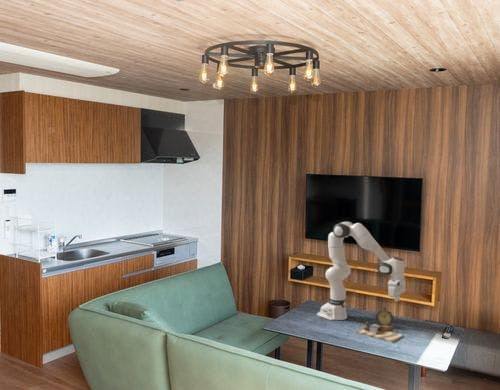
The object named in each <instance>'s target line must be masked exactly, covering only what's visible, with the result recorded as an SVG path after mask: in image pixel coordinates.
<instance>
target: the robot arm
mask: <svg viewBox="0 0 500 390" xmlns="http://www.w3.org/2000/svg"><path fill="white" fill-rule="evenodd" d="M348 237H353V239H354V240H355V241H356V243H357V245H359V247H360V248H361V249H364V250H367V251H371V252H372V253H374V254H375V255H376V256H377V258H378V259H379V260H380V262H379V263H378V264H377V266H376V271H377V273H379V274H380V275H382V276H387V275H388V276H389V275H390V279H389V280H388V282H387V287H388V288H387V289H388V291H387V292H388V293H387V294H388V297H391V298H394V301H395V302H400V297H401V295H402V294H405V292H406V289H407V288H406V281H405V261H404V259H403V258H401V257H399V256H392V257H390V255H389V254H388V253H387V252H386V251H385V250H384V248H383V247H382V246H381V245H380V244H379V243H378V242H377V241H376V240H375V238H374V237H373V236H372V234H371V232H370V231H369V230H368V229H367V228H366V227H365V226H364V225H363V224H362V223H360V222H356V223H353V222H352V221H342V222H341V221H340V222H338V223H337V224H335V225H334V226H333V229H332V231H331V232H330V233H328V236H327V247H328V258H329V259H330V260H331V262H332V264H333V266H331V267H330V266H329V268H327V270H326V271H325V274H324V275H325V278H326V280H327V281H328V284H329V287H330V289H329V293H330V294H329V295H330V297H328V298H327V302H326V303H325V304H323V305H321V307H320V311H318V312H317V313H316V315H317V316H318V317H322V318H324V319H327V320H329V321H343V320H346V319H348V315H347V309H346V308H347V307H346V306H347V298H346V294H347V293H346V287H345V286H344V283H343V279H346V278H348V277H349V276H350V275H351V273H352V270H351V267H350V265H349V264H348V262H347V260H346V257H345V249H344V239H345V238H348Z"/></svg>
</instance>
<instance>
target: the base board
mask: <svg viewBox="0 0 500 390" xmlns="http://www.w3.org/2000/svg"><path fill="white" fill-rule="evenodd" d="M356 334H359V335H362V336H365V337H366V336H367V337H370V338H374V339H378V340H382V341H386V342H389V343H393V344H394V343H395V342H396V341H398V340H399V339H401V338H403V337H404V334H402V333H398V332H394V331H377V334H373V333H369V331H368V330H364V327H362V328H360V329H358V330H357V331H356Z"/></svg>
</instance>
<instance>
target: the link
mask: <svg viewBox="0 0 500 390" xmlns="http://www.w3.org/2000/svg"><path fill="white" fill-rule="evenodd" d="M371 325H372V324H370V321H366V322H365V324H364V325H363V328H364V330H368V331H369V326H371ZM377 331H390V332H394V326H393V325H390V326H389V325H388V326H383V325H381V327H380V328H378V329H377Z"/></svg>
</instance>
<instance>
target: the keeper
mask: <svg viewBox="0 0 500 390" xmlns="http://www.w3.org/2000/svg"><path fill="white" fill-rule="evenodd" d="M370 325H371V326H369V333H373V334H377V329H378V328H380V327H381V326H382V325H379V324H377V323H373V324H370Z"/></svg>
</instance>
